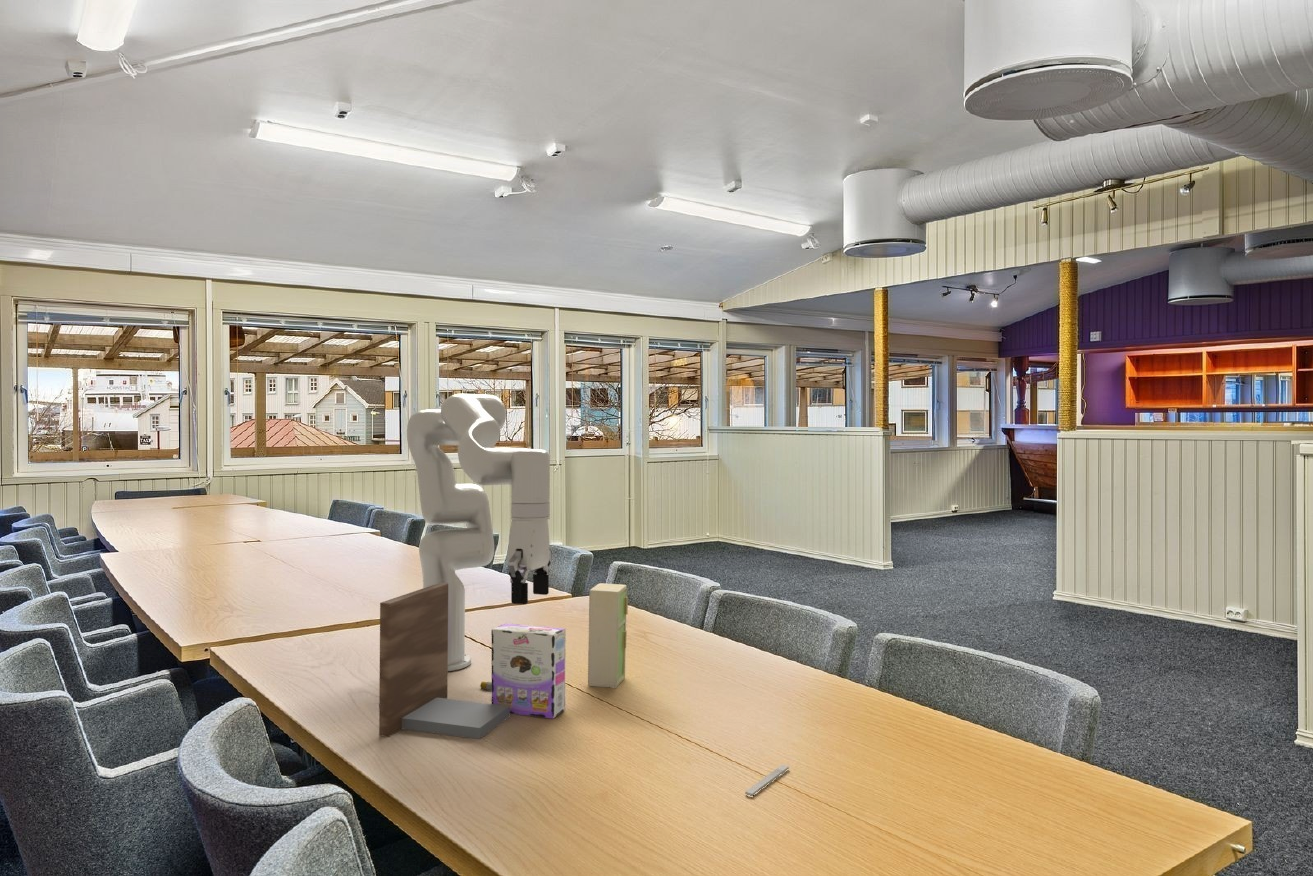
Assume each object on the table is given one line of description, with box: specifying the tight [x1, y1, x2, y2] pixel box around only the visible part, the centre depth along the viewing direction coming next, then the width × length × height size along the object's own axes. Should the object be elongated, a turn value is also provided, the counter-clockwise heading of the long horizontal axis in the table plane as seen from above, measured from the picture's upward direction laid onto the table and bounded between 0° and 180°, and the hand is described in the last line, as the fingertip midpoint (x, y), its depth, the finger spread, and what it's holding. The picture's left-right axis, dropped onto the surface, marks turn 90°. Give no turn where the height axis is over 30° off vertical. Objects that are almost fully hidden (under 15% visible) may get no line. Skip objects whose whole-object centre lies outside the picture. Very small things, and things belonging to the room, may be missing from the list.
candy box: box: [491, 622, 566, 719], centre depth 159 cm, size 14×6×16 cm, turn 71°
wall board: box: [378, 583, 449, 737], centre depth 155 cm, size 2×20×24 cm, turn 164°
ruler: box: [744, 764, 790, 796], centre depth 128 cm, size 12×1×1 cm, turn 144°
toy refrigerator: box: [587, 582, 629, 689], centre depth 178 cm, size 8×7×21 cm
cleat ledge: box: [401, 698, 511, 740], centre depth 153 cm, size 16×12×2 cm
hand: (530, 598), depth 159 cm, fingers open, 9 cm apart
